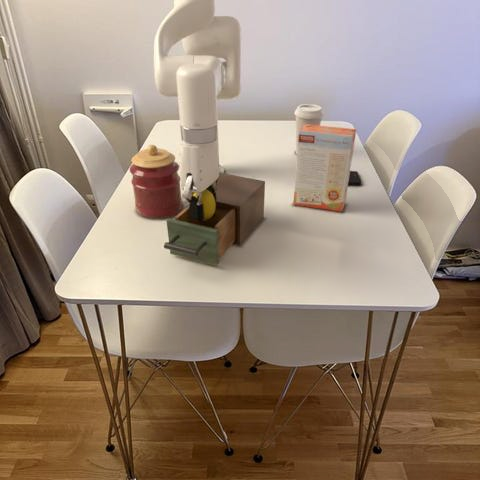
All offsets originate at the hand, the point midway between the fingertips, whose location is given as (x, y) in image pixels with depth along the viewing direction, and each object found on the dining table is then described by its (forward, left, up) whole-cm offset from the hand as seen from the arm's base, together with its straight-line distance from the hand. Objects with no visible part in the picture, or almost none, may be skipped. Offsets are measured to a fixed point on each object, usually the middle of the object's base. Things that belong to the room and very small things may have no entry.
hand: (203, 212), depth 106 cm
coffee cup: (+2, +71, -10) cm, 72 cm away
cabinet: (0, +13, -10) cm, 16 cm away
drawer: (0, -2, -9) cm, 9 cm away
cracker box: (+18, +35, -10) cm, 41 cm away
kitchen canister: (-22, +14, -10) cm, 28 cm away
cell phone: (+16, +53, -10) cm, 56 cm away
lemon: (0, 0, -2) cm, 2 cm away
